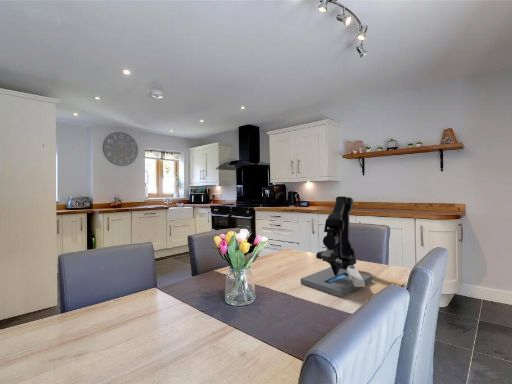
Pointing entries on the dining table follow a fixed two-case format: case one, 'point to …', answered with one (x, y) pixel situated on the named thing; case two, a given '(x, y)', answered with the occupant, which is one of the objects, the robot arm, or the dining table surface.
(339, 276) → the blue bar
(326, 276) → the board
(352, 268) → the bar
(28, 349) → the dining table surface
